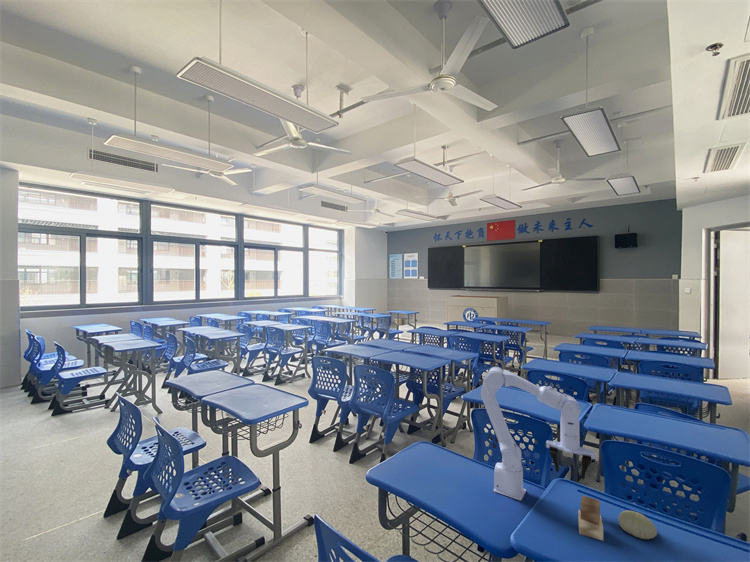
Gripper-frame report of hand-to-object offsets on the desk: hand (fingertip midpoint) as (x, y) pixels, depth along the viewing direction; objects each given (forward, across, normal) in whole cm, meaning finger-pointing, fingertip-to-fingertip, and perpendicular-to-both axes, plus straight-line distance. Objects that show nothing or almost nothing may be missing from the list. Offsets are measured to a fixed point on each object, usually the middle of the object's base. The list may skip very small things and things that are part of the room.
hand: (570, 474), depth 117 cm
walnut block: (+7, +7, -11) cm, 14 cm away
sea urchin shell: (+11, +18, -2) cm, 21 cm away
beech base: (+11, +7, -11) cm, 17 cm away
